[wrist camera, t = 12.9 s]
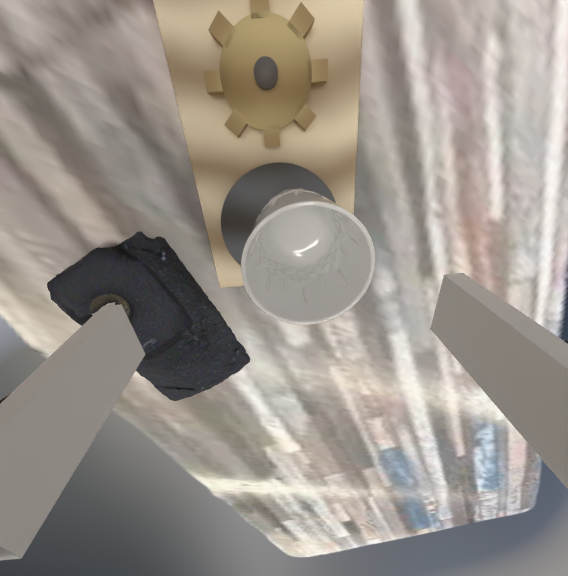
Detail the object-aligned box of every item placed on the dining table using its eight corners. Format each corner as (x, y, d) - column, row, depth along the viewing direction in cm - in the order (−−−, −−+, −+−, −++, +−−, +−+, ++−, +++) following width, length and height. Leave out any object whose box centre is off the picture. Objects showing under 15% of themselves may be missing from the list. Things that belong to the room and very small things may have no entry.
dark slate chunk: (169, 395, 38) (155, 426, 34) (42, 278, 28) (2, 301, 24) (259, 360, 35) (256, 389, 31) (152, 216, 25) (128, 229, 21)
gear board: (160, 6, 18) (133, -29, 14) (358, -14, 18) (378, -54, 14) (222, 281, 29) (215, 299, 25) (347, 270, 28) (357, 287, 25)
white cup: (256, 174, 22) (244, 191, 13) (346, 186, 22) (394, 211, 13) (250, 260, 25) (238, 319, 16) (328, 268, 26) (355, 329, 17)
